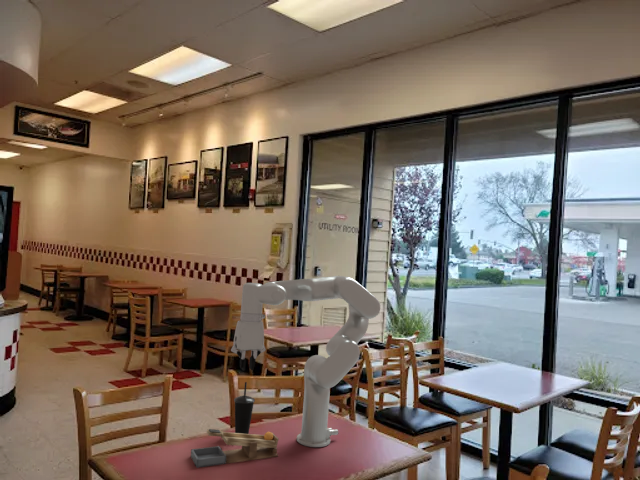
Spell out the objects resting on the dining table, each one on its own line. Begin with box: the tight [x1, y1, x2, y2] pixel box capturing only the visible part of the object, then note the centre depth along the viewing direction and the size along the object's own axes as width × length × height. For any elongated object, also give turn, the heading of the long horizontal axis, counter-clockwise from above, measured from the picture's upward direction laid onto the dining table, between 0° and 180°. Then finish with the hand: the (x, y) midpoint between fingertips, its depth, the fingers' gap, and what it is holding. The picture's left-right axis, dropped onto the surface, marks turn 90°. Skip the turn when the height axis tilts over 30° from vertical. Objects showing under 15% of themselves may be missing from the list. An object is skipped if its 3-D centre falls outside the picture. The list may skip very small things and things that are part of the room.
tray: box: [190, 445, 227, 469], centre depth 161 cm, size 9×8×2 cm
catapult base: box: [222, 442, 279, 464], centre depth 167 cm, size 18×8×6 cm, turn 117°
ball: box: [263, 431, 274, 440], centre depth 171 cm, size 3×3×3 cm
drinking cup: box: [233, 381, 256, 434], centre depth 184 cm, size 8×8×20 cm
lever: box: [206, 428, 279, 449], centre depth 169 cm, size 22×10×3 cm, turn 117°
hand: (247, 369), depth 175 cm, fingers open, 2 cm apart
